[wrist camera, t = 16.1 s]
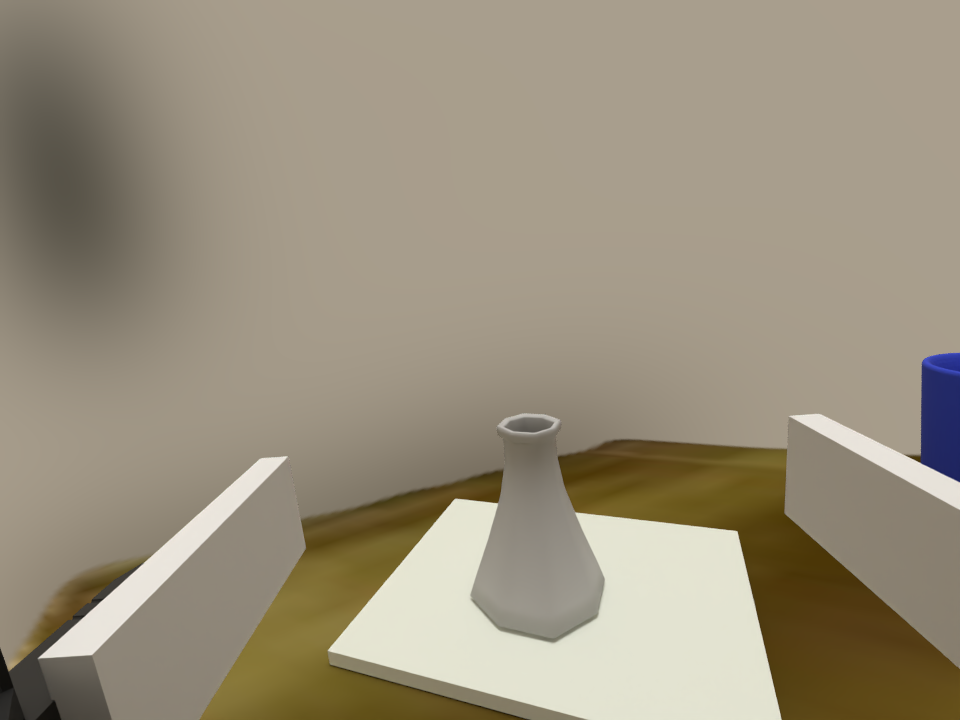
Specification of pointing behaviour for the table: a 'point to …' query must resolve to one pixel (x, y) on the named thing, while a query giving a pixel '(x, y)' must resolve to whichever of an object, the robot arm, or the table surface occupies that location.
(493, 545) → the flask
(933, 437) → the mug
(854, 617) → the table surface
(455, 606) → the white rectangular board
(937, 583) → the robot arm
